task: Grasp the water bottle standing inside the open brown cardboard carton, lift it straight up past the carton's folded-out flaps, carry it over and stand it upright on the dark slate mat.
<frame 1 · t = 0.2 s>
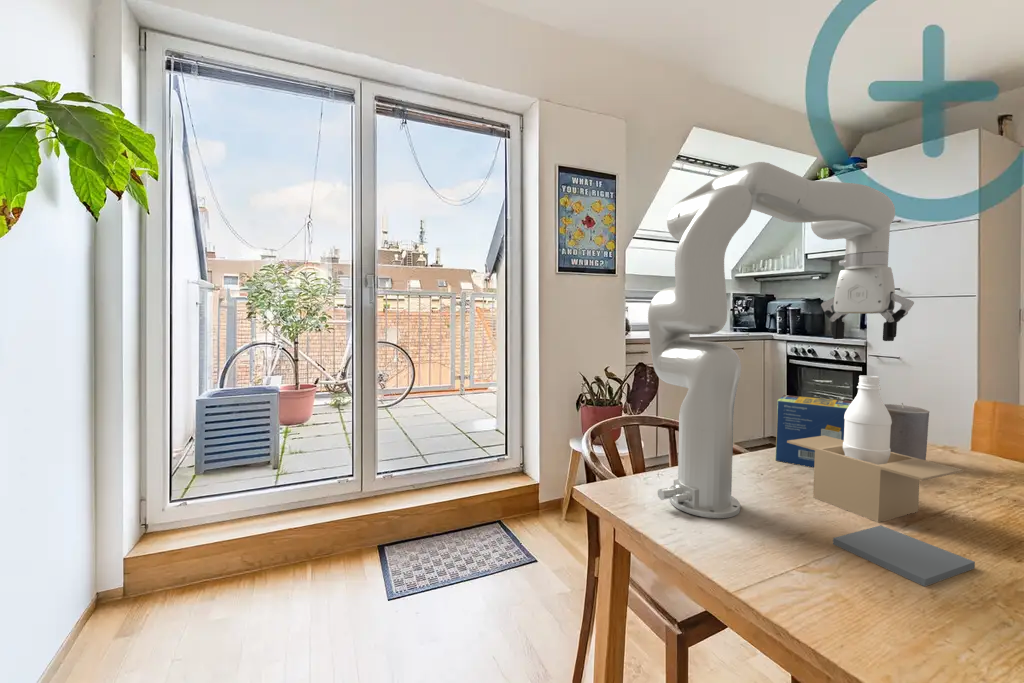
hand: (862, 339, 99), 31 cm above the table, tool pointing down, fingers open, 9 cm apart
slate mat: (900, 555, 68), on the table
carton: (863, 504, 86), on the table
protein box: (813, 462, 111), on the table
water bottle: (863, 505, 86), resting in carton
pillar candle: (900, 463, 111), on the table
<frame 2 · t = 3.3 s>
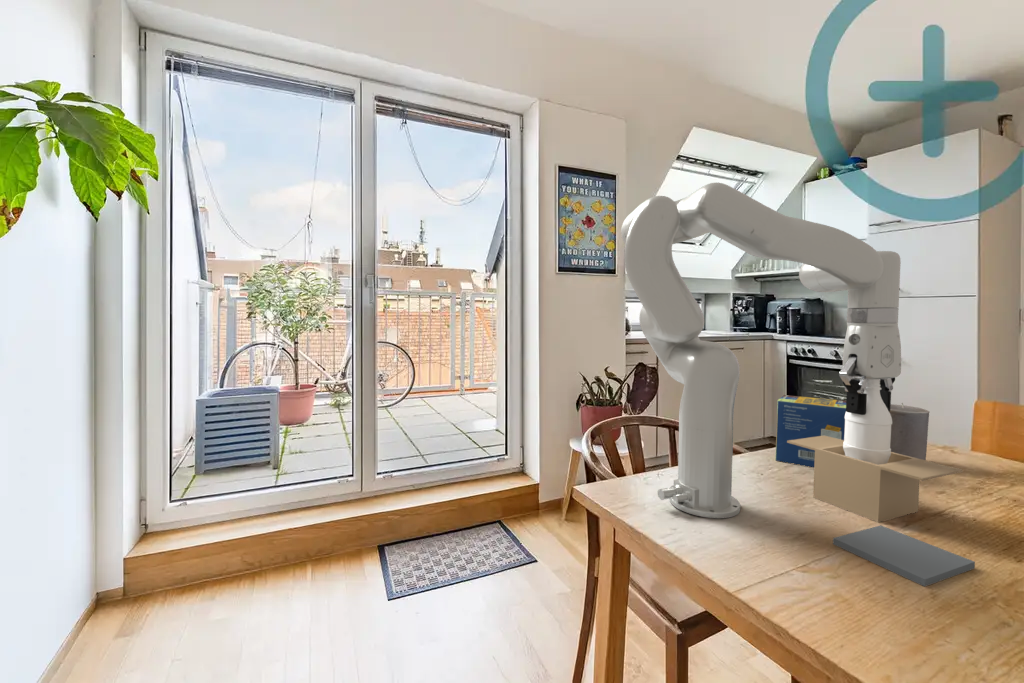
hand: (868, 411, 85), 18 cm above the table, tool pointing down, fingers closed on water bottle, 6 cm apart
water bottle: (863, 505, 86), resting in carton, touching gripper
everything else where it was.
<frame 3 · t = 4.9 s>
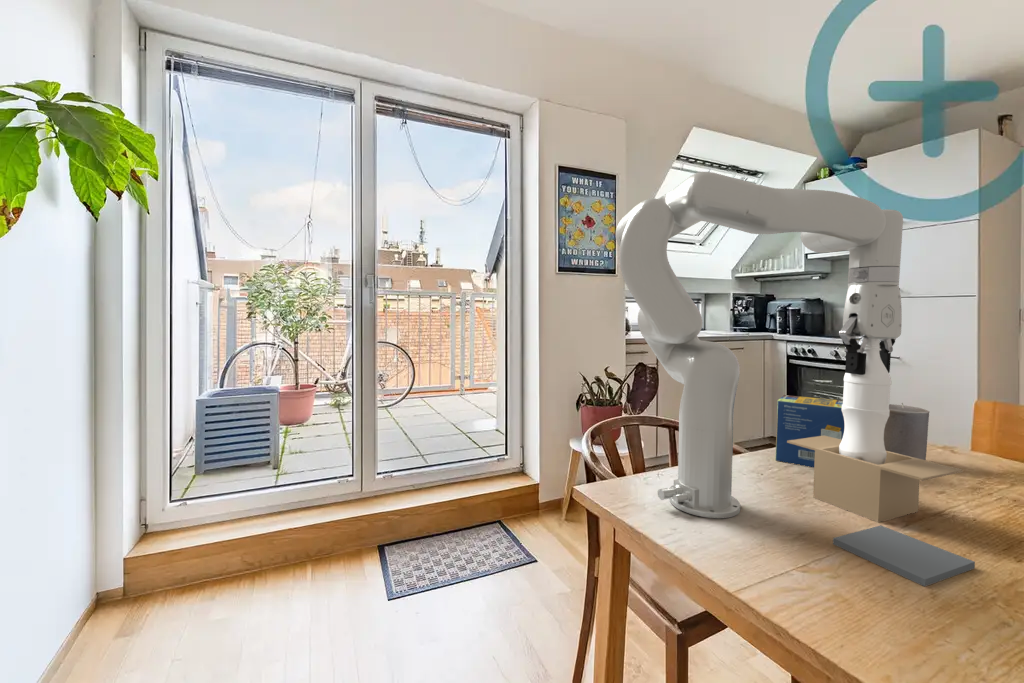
hand: (867, 372, 85), 26 cm above the table, tool pointing down, fingers closed on water bottle, 6 cm apart
water bottle: (861, 467, 86), point 7 cm above the table, touching gripper
everything else where it was.
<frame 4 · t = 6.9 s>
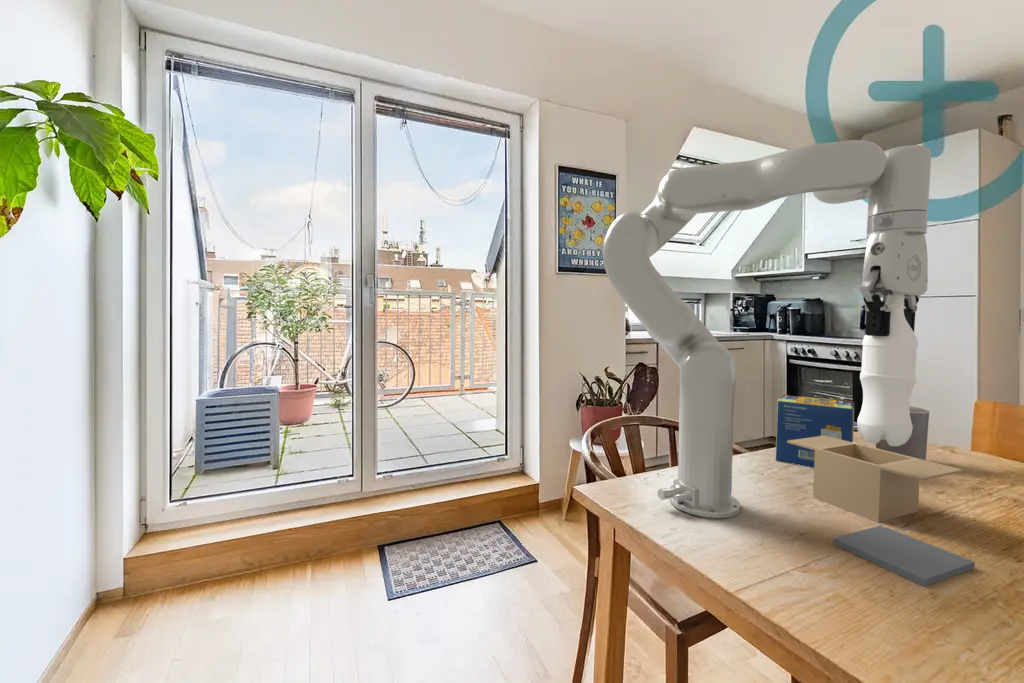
hand: (889, 334, 74), 33 cm above the table, tool pointing down, fingers closed on water bottle, 6 cm apart
water bottle: (882, 443, 75), point 15 cm above the table, touching gripper
everything else where it was.
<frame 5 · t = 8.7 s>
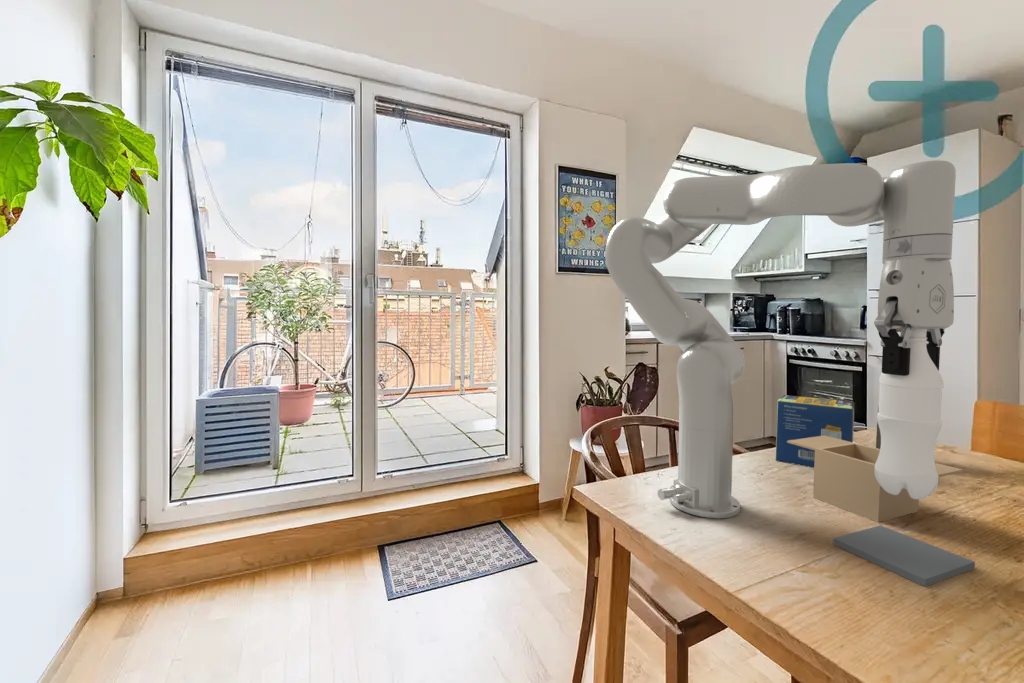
hand: (910, 372, 66), 28 cm above the table, tool pointing down, fingers closed on water bottle, 6 cm apart
water bottle: (904, 494, 67), point 10 cm above the table, touching gripper
everything else where it was.
when the fingers open (20 cm above the table, at t = 10.6 s): water bottle stays where it is, resting on slate mat.
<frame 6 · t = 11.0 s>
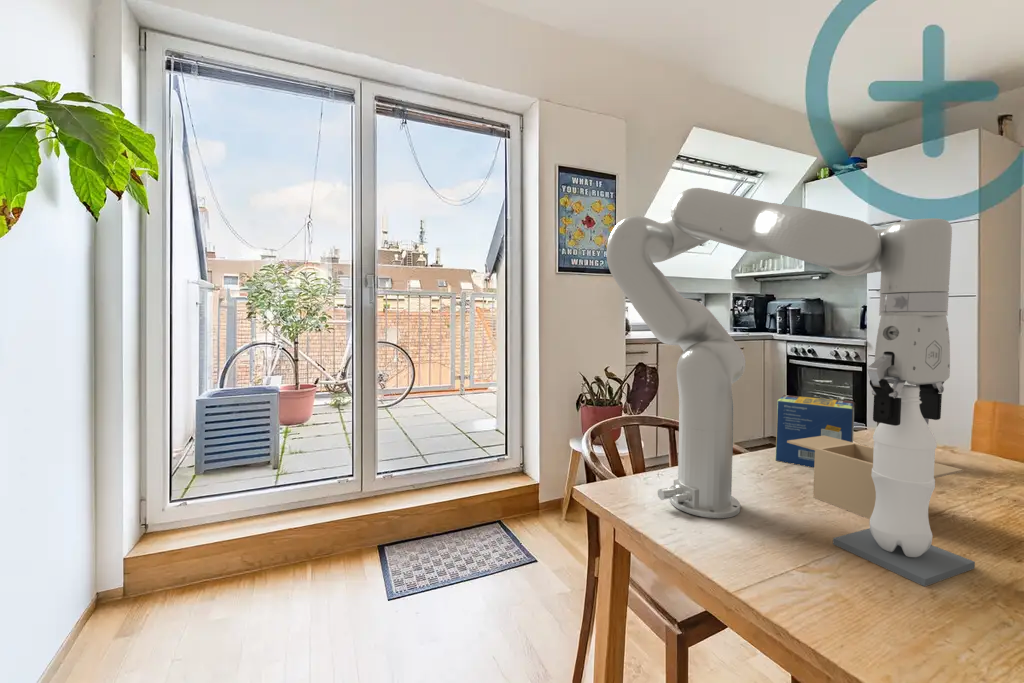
hand: (906, 420, 66), 21 cm above the table, tool pointing down, fingers open, 9 cm apart
water bottle: (899, 549, 68), point 1 cm above the table, touching slate mat
everything else where it was.
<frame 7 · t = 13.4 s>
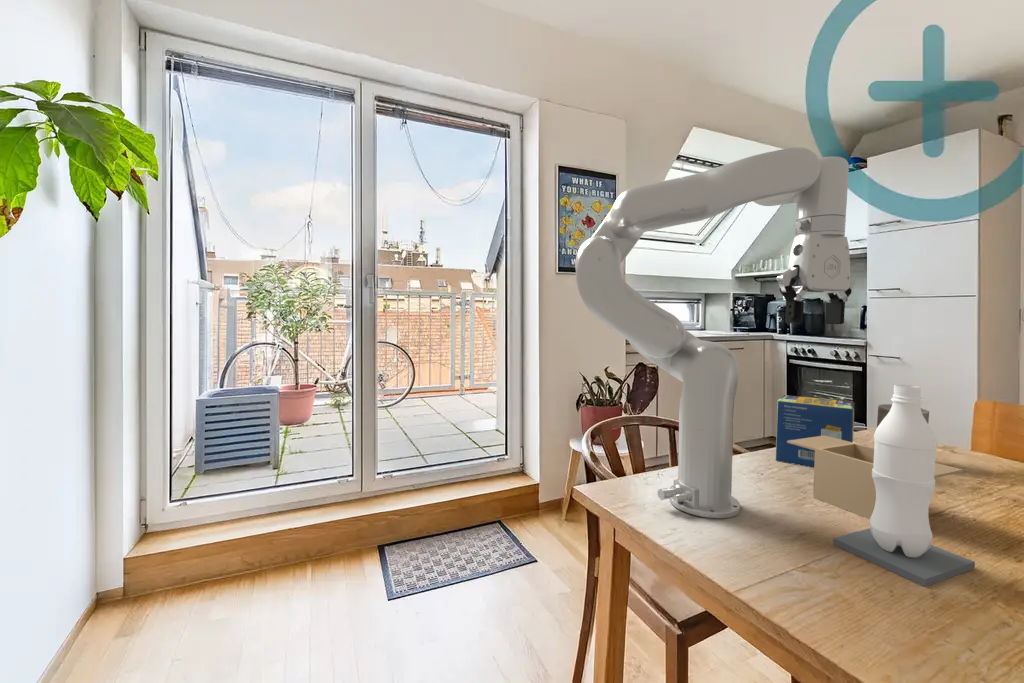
hand: (814, 323, 82), 35 cm above the table, tool pointing down, fingers open, 9 cm apart
nothing on the table moved.
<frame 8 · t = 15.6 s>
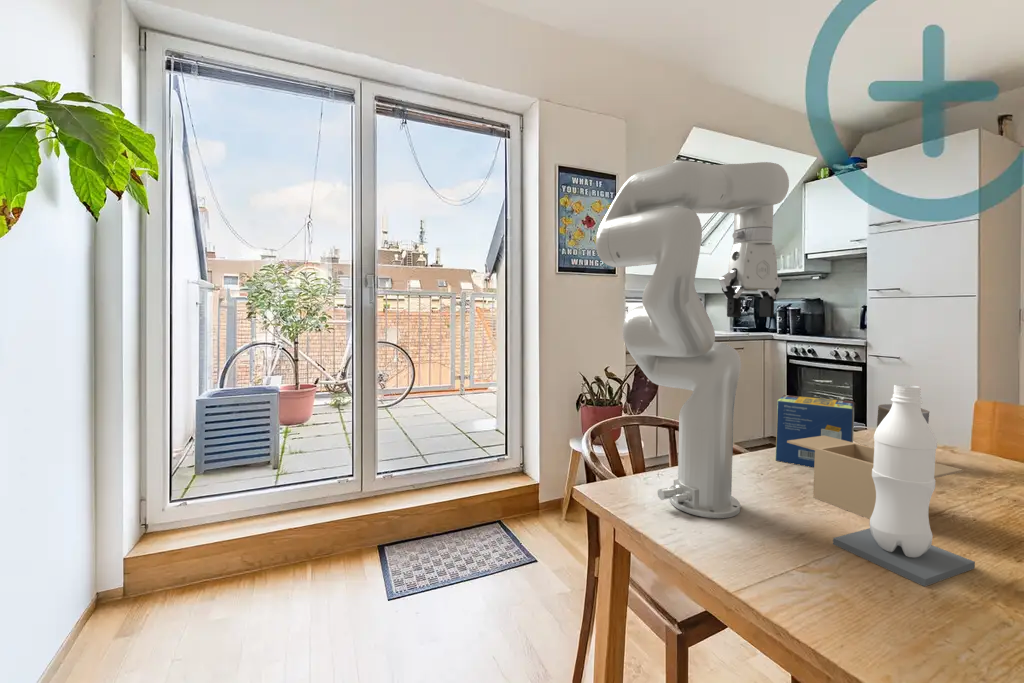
hand: (750, 316, 98), 36 cm above the table, tool pointing down, fingers open, 9 cm apart
nothing on the table moved.
at the end: water bottle inside the target area on the slate mat (0.2 cm from its centre), point 0.8 cm above the slate mat's base; water bottle tilted 0°; the gripper is holding nothing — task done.
